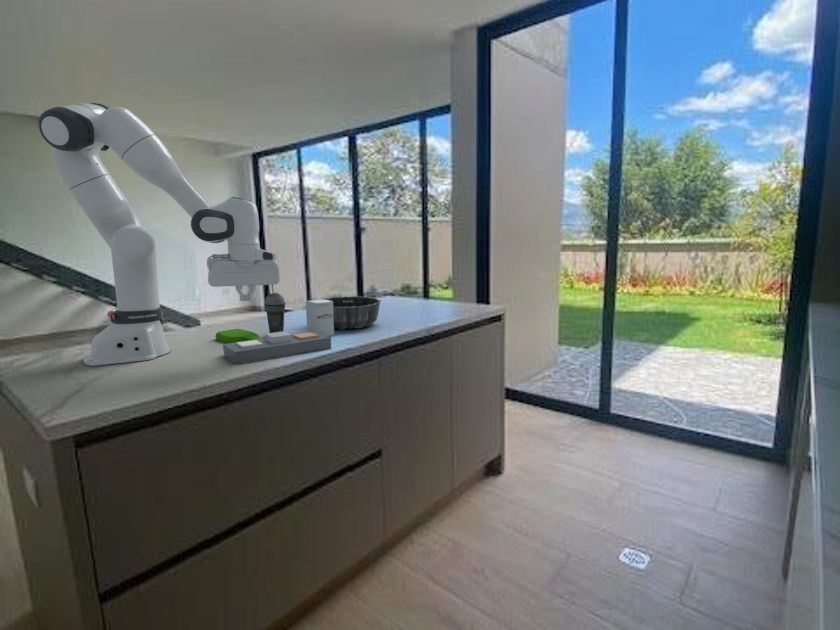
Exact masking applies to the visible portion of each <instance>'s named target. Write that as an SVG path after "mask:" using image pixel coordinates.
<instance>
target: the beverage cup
mask: <svg viewBox="0 0 840 630" xmlns="http://www.w3.org/2000/svg"><path fill="white" fill-rule="evenodd" d="M271 292H272V293H269V294H268V295H267V296H266V297H265V300H264V308H265V311H266V319H267V324H268V329H269V330H268V331H269V333H276V332H283V331H284V330H285V310H286V301H285V299H284V297H283V295H281V294H280V293H278V292H275V290H274V285H271ZM284 332H285V331H284Z"/></svg>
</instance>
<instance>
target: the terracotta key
mask: <svg viewBox="0 0 840 630" xmlns="http://www.w3.org/2000/svg"><path fill="white" fill-rule="evenodd" d="M300 333H301V332H300ZM300 333H293V334H294V335H293V334H292V335H293V337H294V338H296V339H299V340H304V339H311V338H318V335H316V334H314V333H311V332H308V333H307V332H302V333H301V334H300Z"/></svg>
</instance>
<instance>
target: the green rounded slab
mask: <svg viewBox="0 0 840 630" xmlns="http://www.w3.org/2000/svg"><path fill="white" fill-rule="evenodd" d="M215 338H216V340H217V341H219V342H222V343H224V344H228V343H235V342H243V341H250V340H257V339H262V338H261V336H260V335H259V334H257V333H255V332H253V331H250V330H247V329H243V328H234V329H227V330H221V331H220V330H219V331H217V332H216V334H215Z"/></svg>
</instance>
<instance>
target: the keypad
mask: <svg viewBox="0 0 840 630" xmlns="http://www.w3.org/2000/svg"><path fill="white" fill-rule="evenodd" d="M306 333H308V332H307V331H306ZM311 333H314V334H316V335H318V338H311V339H304V340H299V339H296V338H294V337H293V335H294V334H295V333H292V334H291V339H292V341H291V342H284V343H277V344H271V343H269V342H267V341H266V337H265V338H261V339H257V341H259V342H261V343H263V346H257V347H251V348H244V349H241V348H240V347H238V346H236V343H237V342H235V343H224V344H223V343H222V345H223V346H222V350H223V356H224V357H225V358H227V359H228V360H230V361H231V362H232V363H234V364H235V365H238V364H243V363H244V362H245V363H250V362H256V361H261V360H262V361H263V360H268V358H269V359H273V358H274V359H275V358H280V357H281V358H282V357H285V356H286V357H287V356H292V355H293V356H294V355H298V354H304V353H309V352H315V351H317V352H318V351H323V350H327V349H328V350H329V349H332V337H330V336H325V335H323V334H320V333H317V332H315V331H314V332H311ZM299 334H301V332H300V333H299ZM250 341H251V340H250ZM243 342H244V341H243ZM245 363H244V364H245Z"/></svg>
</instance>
